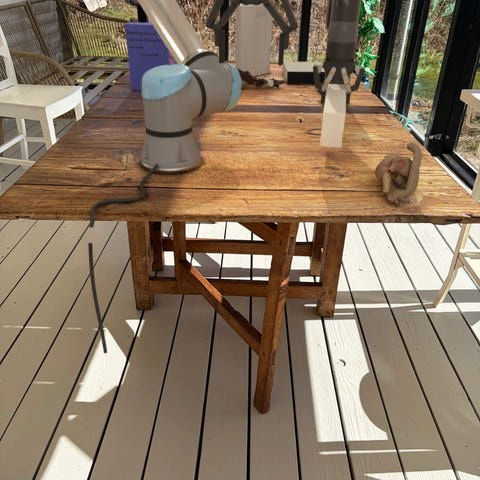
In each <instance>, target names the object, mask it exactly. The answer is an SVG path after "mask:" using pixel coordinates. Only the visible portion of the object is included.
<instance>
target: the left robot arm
mask: <svg viewBox="0 0 480 480" xmlns="http://www.w3.org/2000/svg"><path fill="white" fill-rule="evenodd" d="M279 1H280V4H281V6H282V8H283V11H284V13H285V16H286V18H287V21H288V23H289V24H288V23H287V22H286V21H285V19H284V17H283V16H282V15H281V13H280V12H279V11H278V9H277V8H276V6H275V4H273V1H272V0H232V1H231V3H230V4H229V6H228V7H227V8H226V10H225V11H224V12H223V14H222V15H221V17H220V18H219V20H218V21H217V18H218V17H219V13H220V11H221V9H222V7H223V5H224V2H225V0H215V1H214V3H213V5H212V7H211V10H210V13H209V15H208V18H207V20H206V23H205V27H206V28H207V29H209V30H212V31H213V38H214V47H216V48H218V54H217V53H216V52H215V51H214V50H211V49H207V48H206V46H205V45H204V43H203V42H202V40H201V38H200V37H199V35H198V33H197V32H196V30H195V29H194V27H193V26H192V24H191V22H190V21H189V20H188V18H187V16H186V14H185V13H184V11H183V10H182V8H181V7H180V4H178V1H177V0H131V2H132V3H134V4H136V5H140V6H141V8H142V10H143V11H144V13H145V15H146V16H147V18H148V20H149V21H150V23H152V24H153V26H154V28H155V29H156V31H157V33H158V34H159V36H160V38H161V39H162V41H163V42H164V44H165V46H166V47H167V49H168V51H169V52H170V54H171V56H172V57H173V59H174V60H175V62H176V64H172V65H163V66H158V67H155V68H152V69H150V70H148V71H147V72H146V73H145V74H144V75H143V77H142V91H140V93H141V94H140V95H141V97H142V104H143V115H144V125H145V138H144V142H143V146H142V150H141V154H140V162H141V166H142V168H144V169H145V170H146V171H149V172H148V173H147V174H146V175H145V176H144V177H143V178H142V180H141V181H140V182H139V189H140V191H141V194H140V195H138V196H135V197H125V198H108V199H104V200H100V201H98V202H96V203H94V204H93V205H92V206H91V208H90V222H89V229H92V228H94V227H95V220H96V209H97V208H99V207H101V206H103V205H106V204H112V203H132V202H138V201H140V200H142V199H144V198H145V197H146V195H147V192H146V189H145V188H144V185H145V183H146V181H148V179H149V178H151V176H152V175H153V174H154V173H156V174H163V175H164V174H165V175H169V174H170V175H172V174H173V175H175V174H182V173H187V172H190V171H193V170H195V169H197V168H198V167H199V166H201V163H202V155H201V151H202V145H201V144H200V143H199V142H197V140H196V137H195V135H194V130H193V129H194V126H193V119H197V118H201V117H206V116H210V115H215V114H223V113H224V112H226V111H229V110H232V109H234V108H235V107H236V106H237V105H238V103H239V101H240V99H241V96H242V88H243V87H242V83H241V77H240V74H239V72H238V70H237V68H236V67H235V65H234V64H233V63H229V62H226V30H223V27H225V25H226V24H227V22H228V21H229V20H230V18H231V17H232V16H233V14H234V13H235V12H236V9H237V7H238V6H239V5H240V4H241V3H242V4H244V5H250V4H252V5H260V4H263V5H264V7H265V8H266V9H267V10H268V12H269V13H270V14H271V16H272V20H274V22H275V23H276V24H277V26H278V27H279V29H280V30H281V31H282V32H280V33H279V35H278V62H277V63H278V64H277V65H278V67H280V66H281V67H283V62H284V61H285V60H284V59H285V58H284V57H285V50H288V49H289V47H290V35H291V33H292V32H295V31H297V30H298V29H299V23H298V21H297V19H296V16H295V14H294V11H293V8H292V5H291V3H290V0H279ZM216 21H217V22H216ZM241 87H242V88H241ZM87 246H88V249H87V251H88V266H89V277H90V284H91V286H90V287H91V293H92V298H93V299H92V300H93V303H94V309H95V314H96V319H97V324H98V329H99V334H100V338H101V344H102V350H103V354H107V353H108V348H107V340H106V336H105V331H104V325H103V320H102V315H101V310H100V305H99V300H98V294H97V293H98V292H97V287H96V279H95V270H94V269H95V268H94V256H93V255H94V251H93V242H88V245H87Z"/></svg>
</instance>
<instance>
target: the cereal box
mask: <svg viewBox="0 0 480 480" xmlns="http://www.w3.org/2000/svg"><path fill="white" fill-rule="evenodd" d="M124 29H125V30H124V31H125V39H126V50H127V58H128V69H129V78H130V88H131V91H137V92H138V91H139V92H142V77H143V75H144V74H145V73H146V72H147V71H148V70H150V69H152V68H155V67H158V66H163V65H172V64H176V62H175V60H174V59H173V57H172V56H171V54H170V52H169V51H168V49H167V47H166V46H165V44H164V42H163V41H162V39H161V38H160V36H159V34H158V33H157V31H156V29H155V28H154V26H153V24H152V23H151V22H137V21H136V22H135V21H134V22H133V21H131V22H130V21H128V22H125V23H124Z"/></svg>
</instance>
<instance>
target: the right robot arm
mask: <svg viewBox="0 0 480 480" xmlns="http://www.w3.org/2000/svg"><path fill="white" fill-rule="evenodd" d="M361 6H362V0H327V3H326V12H325V18H324V19H325V20H324V21H325V22H324V25H325V29H326V30H327V34H326V38H327V41H326V51H325V58H324V61H323V62H322V64H319V65H317V64H315V65H314V66H313V74H314V82H315V84H314V87H315V89H316V90H318V92H319V94H320V103H321V104H322V106H324V104H325V98H326V91H327V87H328V85H329V84H339V85H345V87H346V107H347V105H349V104H350V103H351V102H350V101H351V94H352V92H357V91H358V90H359V88H360V85H361V83H362V80H363V78H364V75H365V72H366V68H365V67H364V66H363V65H362V66H358V65H356V62H355V58H356V50H357V43H358V37H359V19H360V13H361V12H360V11H361ZM322 68H324V70H325V72H324V82H321V83H320V79H319V73H320V72H321V69H322ZM354 70H355V75H356V79H355V81H354V83H353V84H352V85H351V82H350V81H351V76H352V75H351V74H352V73H353V72H354Z"/></svg>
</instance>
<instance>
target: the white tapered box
mask: <svg viewBox="0 0 480 480" xmlns="http://www.w3.org/2000/svg"><path fill="white" fill-rule="evenodd" d="M272 31H273V17H272V16H271V14H270V13H269V12H268V10H267V9H266V8H265V7H264V5H263V4H260V5H252V4H250V5H244V4H242V3H241V4H240V5H239V6H238V7H237V9H236V10H235V59H234V60H235V62H234V63H235V65H234V66H235V67H236V68H237V69H240V70H242V71H244V72H245V71H249V72H250V73H251V75H252V76H256V77H257V76H259V75H260V76H261V75H266V74H270V73H271V56H272V55H271V54H272V33H273V32H272Z"/></svg>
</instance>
